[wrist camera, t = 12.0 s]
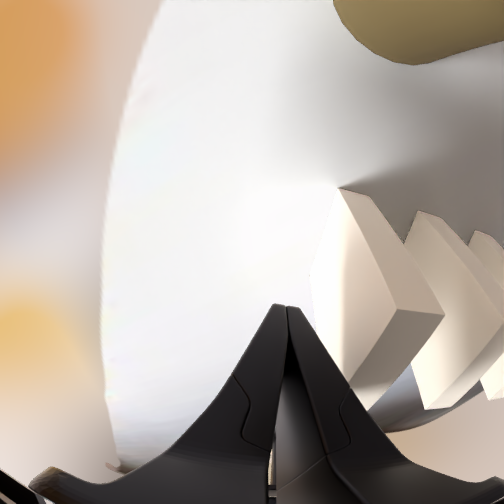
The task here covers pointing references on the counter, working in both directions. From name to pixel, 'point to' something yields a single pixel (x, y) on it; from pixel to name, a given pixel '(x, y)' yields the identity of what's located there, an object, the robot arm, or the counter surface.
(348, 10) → the cork
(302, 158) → the counter surface
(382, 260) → the domino
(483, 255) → the domino
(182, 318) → the counter surface
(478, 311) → the domino
